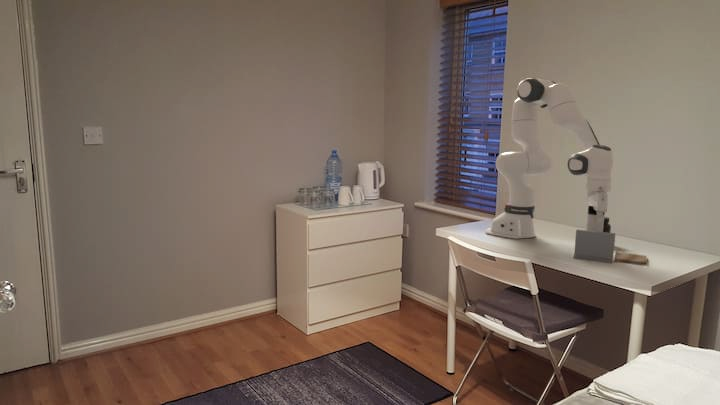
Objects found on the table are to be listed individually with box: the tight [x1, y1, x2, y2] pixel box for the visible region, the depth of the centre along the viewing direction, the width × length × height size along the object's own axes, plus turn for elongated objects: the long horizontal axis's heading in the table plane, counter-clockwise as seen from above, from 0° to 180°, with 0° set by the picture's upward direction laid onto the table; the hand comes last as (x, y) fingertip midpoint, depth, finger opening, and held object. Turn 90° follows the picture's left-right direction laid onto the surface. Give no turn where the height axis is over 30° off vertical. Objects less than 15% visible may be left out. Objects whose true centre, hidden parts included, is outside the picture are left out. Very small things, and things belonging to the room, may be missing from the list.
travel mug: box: [585, 205, 606, 232], centre depth 214 cm, size 6×7×20 cm
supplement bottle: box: [603, 216, 612, 233], centre depth 231 cm, size 7×7×12 cm
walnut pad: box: [613, 251, 647, 266], centre depth 208 cm, size 11×11×1 cm
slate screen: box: [573, 228, 616, 264], centre depth 206 cm, size 14×4×11 cm, turn 62°
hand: (596, 219), depth 213 cm, fingers open, 8 cm apart
